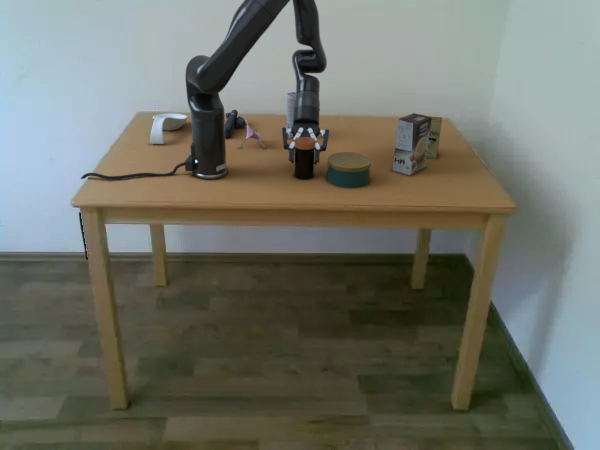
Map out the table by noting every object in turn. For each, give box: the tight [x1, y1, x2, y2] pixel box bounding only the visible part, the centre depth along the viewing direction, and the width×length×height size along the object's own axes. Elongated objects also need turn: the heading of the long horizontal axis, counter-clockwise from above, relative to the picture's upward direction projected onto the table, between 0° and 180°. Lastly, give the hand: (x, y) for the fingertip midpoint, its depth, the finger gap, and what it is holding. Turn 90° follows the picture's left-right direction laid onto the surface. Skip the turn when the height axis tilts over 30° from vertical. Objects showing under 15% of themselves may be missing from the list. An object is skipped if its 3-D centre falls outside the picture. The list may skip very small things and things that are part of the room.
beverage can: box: [285, 91, 296, 140], centre depth 197 cm, size 5×5×15 cm
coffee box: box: [392, 112, 433, 176], centre depth 175 cm, size 9×6×16 cm
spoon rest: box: [149, 113, 188, 145], centre depth 199 cm, size 24×12×7 cm, turn 178°
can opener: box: [224, 109, 246, 139], centre depth 203 cm, size 18×7×6 cm, turn 172°
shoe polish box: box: [426, 116, 443, 160], centre depth 186 cm, size 5×5×12 cm
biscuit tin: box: [326, 151, 372, 189], centre depth 169 cm, size 12×12×6 cm
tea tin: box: [293, 137, 315, 181], centre depth 169 cm, size 6×6×11 cm
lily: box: [239, 117, 266, 149], centre depth 190 cm, size 12×12×10 cm
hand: (304, 162), depth 168 cm, fingers open, 6 cm apart
